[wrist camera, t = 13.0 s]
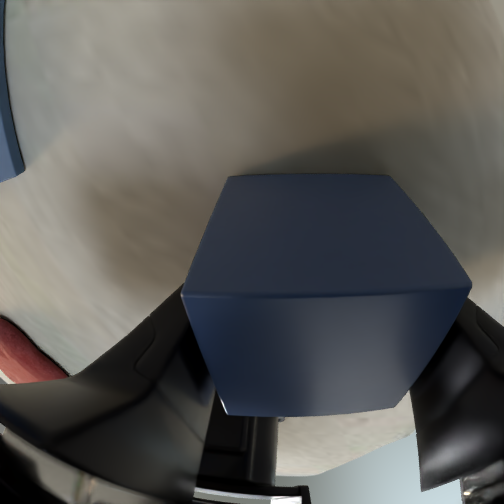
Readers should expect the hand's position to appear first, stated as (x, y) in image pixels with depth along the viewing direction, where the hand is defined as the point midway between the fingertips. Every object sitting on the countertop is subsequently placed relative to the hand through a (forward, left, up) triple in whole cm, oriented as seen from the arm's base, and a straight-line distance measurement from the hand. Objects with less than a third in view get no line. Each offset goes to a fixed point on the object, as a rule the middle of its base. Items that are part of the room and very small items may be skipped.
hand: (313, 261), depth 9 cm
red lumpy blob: (-14, +28, -1) cm, 31 cm away
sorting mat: (+14, +21, -1) cm, 25 cm away
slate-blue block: (0, 0, -1) cm, 1 cm away
